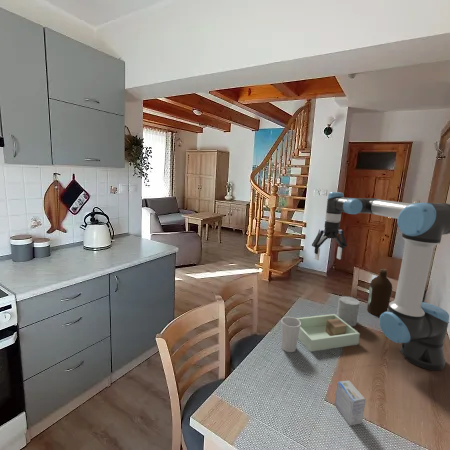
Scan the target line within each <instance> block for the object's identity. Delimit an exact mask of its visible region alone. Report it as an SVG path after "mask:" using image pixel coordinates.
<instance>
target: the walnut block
mask: <svg viewBox="0 0 450 450" xmlns="http://www.w3.org/2000/svg"><path fill="white" fill-rule="evenodd" d="M346 327H347V326H346V325H345V324H344V323H343V322H341V321H340V320H339V319H331V320H327V323H326V331H325V332H326V333H327V334H328V335H330V336H335V335H342V334H345V333H346Z"/></svg>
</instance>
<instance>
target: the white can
mask: <svg viewBox="0 0 450 450" xmlns="http://www.w3.org/2000/svg"><path fill="white" fill-rule="evenodd" d="M360 304H361V303H360V301H359V300H358V299H357V298H355V297H352V296H348V295H341V296H339V297H338V303H337V311H336V315H337V316H338V317H339V318H341V319H342V320H343V321H344V322H346V323H347V324H348V325H350V326H351V327H352V328H353V327H355V326H357V321H358V315H359V308H360Z"/></svg>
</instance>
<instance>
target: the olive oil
mask: <svg viewBox="0 0 450 450" xmlns="http://www.w3.org/2000/svg"><path fill="white" fill-rule="evenodd" d="M387 275H388V269H387V268H380V271H379V274H378V275H377V276H375V277H374V278H373V279H371V281H370V283H369V289H368V298H367V299H368V300H367V309H366V310H367V312H368V313H369V314H371V315H373V316H376V317H380V316H381V314H382V313H384V312H388V307H389V303H390V302H391V301H390V300H391V296H392V292H393V284H392V282H391V281H390V280H389V278H388V277H387Z"/></svg>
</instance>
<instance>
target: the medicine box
mask: <svg viewBox="0 0 450 450" xmlns="http://www.w3.org/2000/svg"><path fill="white" fill-rule="evenodd" d="M336 383H337V384H336V390H335V397H334V403H333V404H334V406H335V407H336V408H337V410H338V411H339V413H340V414H341V415H342V418H344V420H345V421H346V422H347V424H348V425H349V426H355V425H360V424H363V421H364V420H363V418H364V415H365V405H366V401H367V400H366V398H365V397H364V395H362V394H361V392H360V391H359V390H358V389H357V388H356V387H355V385H354V384H353V382H351V380H341V381H337V382H336Z"/></svg>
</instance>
